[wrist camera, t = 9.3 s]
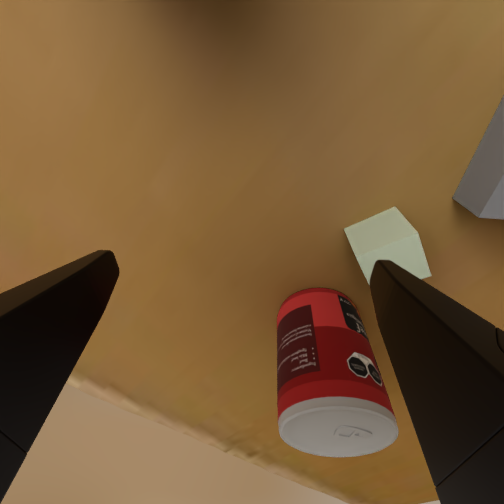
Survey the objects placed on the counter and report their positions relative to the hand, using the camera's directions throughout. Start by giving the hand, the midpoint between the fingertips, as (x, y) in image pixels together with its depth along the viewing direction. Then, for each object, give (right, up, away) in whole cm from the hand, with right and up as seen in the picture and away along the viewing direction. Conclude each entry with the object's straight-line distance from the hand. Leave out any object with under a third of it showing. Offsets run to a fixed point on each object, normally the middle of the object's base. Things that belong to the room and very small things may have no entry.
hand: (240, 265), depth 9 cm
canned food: (+7, -6, +18) cm, 20 cm away
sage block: (+10, +2, +13) cm, 17 cm away
